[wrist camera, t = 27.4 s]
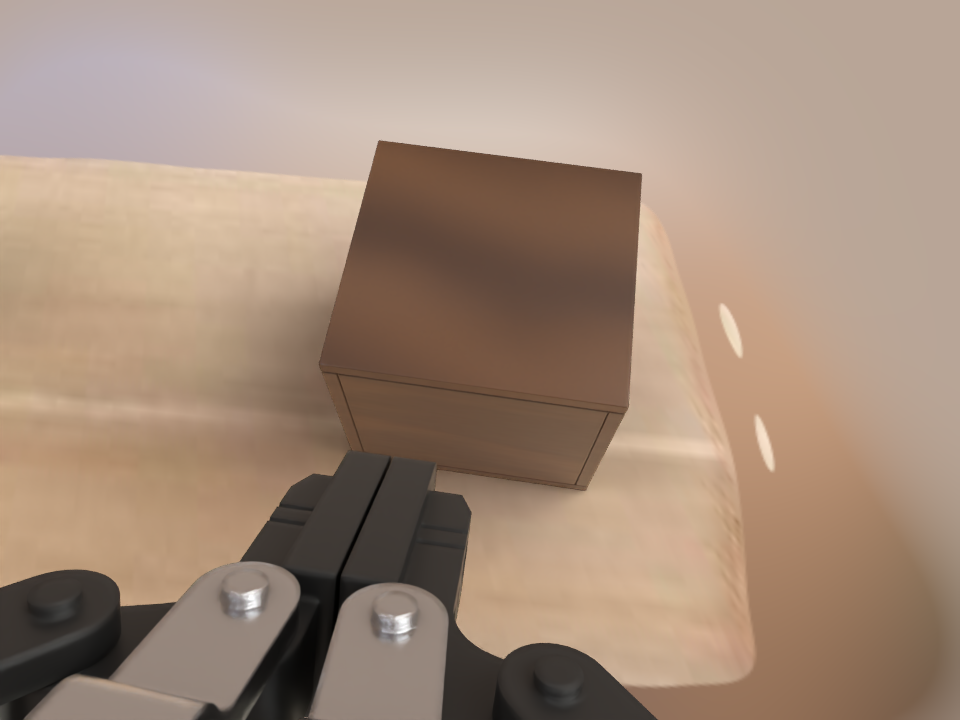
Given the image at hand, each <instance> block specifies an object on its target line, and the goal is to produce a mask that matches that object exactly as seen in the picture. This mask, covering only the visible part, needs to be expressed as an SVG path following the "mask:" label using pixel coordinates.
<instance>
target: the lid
mask: <svg viewBox="0 0 960 720" xmlns="http://www.w3.org/2000/svg"><path fill="white" fill-rule="evenodd" d="M641 182H642V174H641V173H633V172H626V171H618V170H610V169H601V168H594V167H586V166H578V165H570V164H562V163H554V162H546V161H538V160H531V159H523V158H514V157H507V156H498V155H491V154H483V153H475V152H467V151H459V150H451V149H443V148H435V147H427V146H420V145H411V144H404V143H396V142H387V141H380V140H379V141H378V145H377V148H376V152H375V156H374V159H373V164H372V167H371V171H370V175H369V178H368V182H367V186H366V189H365V193H364V197H363V200H362V204H361V208H360V212H359V215H358V219H357V223H356V227H355V230H354V234H353V238H352V242H351V245H350V249H349V253H348V256H347V260H346V264H345V268H344V271H343V275H342V279H341V283H340V286H339V290H338V294H337V297H336V301H335V305H334V309H333V312H332V316H331V320H330V324H329V327H328V331H327V335H326V338H325V342H324V346H323V350H322V353H321V357H320V361H319V366H320V369H321V371H324V372H331V373H338V374H345V375H352V376H359V377H367V378H374V379H381V380H388V381H395V382H402V383H409V384H417V385H424V386H431V387H438V388H445V389H452V390H459V391H467V392H474V393H481V394H488V395H495V396H502V397H509V398H517V399H524V400H531V401H538V402H545V403H552V404H560V405H567V406H574V407H581V408H588V409H595V410H602V411H610V412H617V413H624V414H625V413H626V411H627V409H628V407H629V390H630V373H631V356H632V338H633V321H634V304H635V286H636V269H637V252H638V234H639V217H640V200H641V198H640V197H641Z"/></svg>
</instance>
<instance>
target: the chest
mask: <svg viewBox="0 0 960 720" xmlns="http://www.w3.org/2000/svg"><path fill="white" fill-rule="evenodd" d="M322 374H323V376H324V379H325V381H326V384H327V387H328V389H329V392H330V394H331V397H332V400H333V402H334V405H335V407H336V410H337V413H338V415H339V418H340V420H341V423H342V426H343V428H344V431H345V434H346V436H347V439H348V441H349V444H350V447H351V449H352V450H353V451H360V452H367V453H374V454H381V455H388V456H392V460H393V458H394V457H395V456H396V457H403V458H409V459H416V460H423V461H430V462H436V463H437V469H441V470H448V471H455V472H462V473H468V474H475V475H482V476H489V477H496V478H503V479H510V480H517V481H524V482H531V483H538V484H544V485H551V486H558V487H565V488H572V489H579V490H586V489H587V487H588V485H589V483H590V481H591V479H592V477H593V475H594V473H595V471H596V469H597V467H598V465H599V463H600V461H601V459H602V458H603V456H604V454H605V452H606V450H607V448H608V446H609V444H610V442H611V440H612V438H613V436H614V434H615V432H616V430H617V428H618V426H619V424H620V423H621V421H622V419H623V417H624V415H625V414H624V413H617V412H610V411H602V410H595V409H588V408H581V407H574V406H567V405H560V404H552V403H545V402H538V401H531V400H524V399H517V398H509V397H502V396H495V395H488V394H481V393H474V392H467V391H459V390H452V389H445V388H438V387H431V386H424V385H417V384H409V383H402V382H395V381H388V380H381V379H374V378H367V377H359V376H352V375H345V374H338V373H331V372H324V371H322Z"/></svg>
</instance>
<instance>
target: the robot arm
mask: <svg viewBox="0 0 960 720" xmlns="http://www.w3.org/2000/svg"><path fill="white" fill-rule="evenodd" d="M436 472H437V463H436V462H430V461H423V460H416V459H409V458H403V457H396V456H395V457H394V458H393V460H392V456H388V455H381V454H374V453H367V452H360V451H353V450H349V451H348V452H347V454H346V455H345V457H344V459H343V460H342V462H341V464H340V466H339V467H338V469H337V471H336V472H335V474H334V476H327V475H320V474H312V475H310V476H308V477H307V478H305V479H303V480H301V481H300V482H298V483H296V484H295V485H293V486H291V488H290V489H289V490H288V492H287V493H286V495H285V496H284V498H283V499H282V501H281V502H280V505H279V507H277V508H276V509H275V511H274V512H273V514H272V515H271V517H270V521H267V523H266V524H265V525H264V527H263V528H262V530H261V531H260V533H259V534H258V536H257V537H256V539H255V540H254V541H253V543H252V544H251V546H250V547H249V549H248V550H247V552H246V553H245V555H244V556H243V558H242V559H241V560H240V562H237V563H231V564H227V565H223V566H220V567H218V568H215V569H213V570H211V571H209V572H207V573H205V574H204V575H202V576H201V577H200V578H198V579H197V580H196V581H195V582H194V583H193V584H192V586H191V587H190V588H189V589H188V590H187V591H186V592H185V593H184V594H183V596H182V597H181V598H180V599H179V600H178V601H177V602H174V603H165V604H151V605H136V606H121V607H120V592H119V588H118V586H117V584H116V583H115V582H114V581H113V580H112V579H111V578H109V577H107V576H105V575H103V574H100V573H98V572H93V571H88V570H62V571H55V572H50V573H45V574H41V575H38V576H35V577H32V578H29V579H26V580H23V581H20V582H17V583H14V584H11V585H8V586H5V587H2V588H0V720H657V719H656V718H655V717H654V716H653V715H652V714H651V713H650V712H649V711H648V710H647V709H646V708H645V707H644V706H643V705H642V704H641V703H640V702H639V701H638V700H637V699H636V698H635V697H633V696H632V695H631V694H630V693H629V692H628V691H627V690H626V689H625V688H624V687H623V686H622V685H621V684H620V683H619V682H618V681H617V680H616V679H615V678H614V677H613V676H612V675H611V674H610V673H609V672H607V671H606V670H605V669H604V668H603V667H602V666H601V665H600V664H599V663H598V662H596V661H595V660H594V659H593V658H591V657H589V656H588V655H586V654H584V653H582V652H580V651H578V650H576V649H573V648H570V647H568V646H563V645H559V644H552V643H537V644H530V645H526V646H523V647H520V648H518V649H516V650H514V651H513V652H511V653H510V654H508V656H507V657H506V658H505V659H501V658H499V657H496V656H494V655H492V654H490V653H487V652H485V651H483V650H482V649H480V648H478V647H477V646H475V645H474V644H473V643H471V642H470V641H469V640H468V639H467V638H466V637H465V636H464V635H463V634H462V633H461V631H460V630H459V628H458V627H457V624H456V618H457V612H458V607H459V602H460V596H461V590H462V583H463V575H464V567H465V559H466V552H467V544H468V536H469V528H470V520H471V511H470V509H469V507H468V505H467V503H466V502H465V500H464V498H463V496H462V495H458V494H451V493H444V492H437V491H435V482H436ZM304 717H308V718H304Z"/></svg>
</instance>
